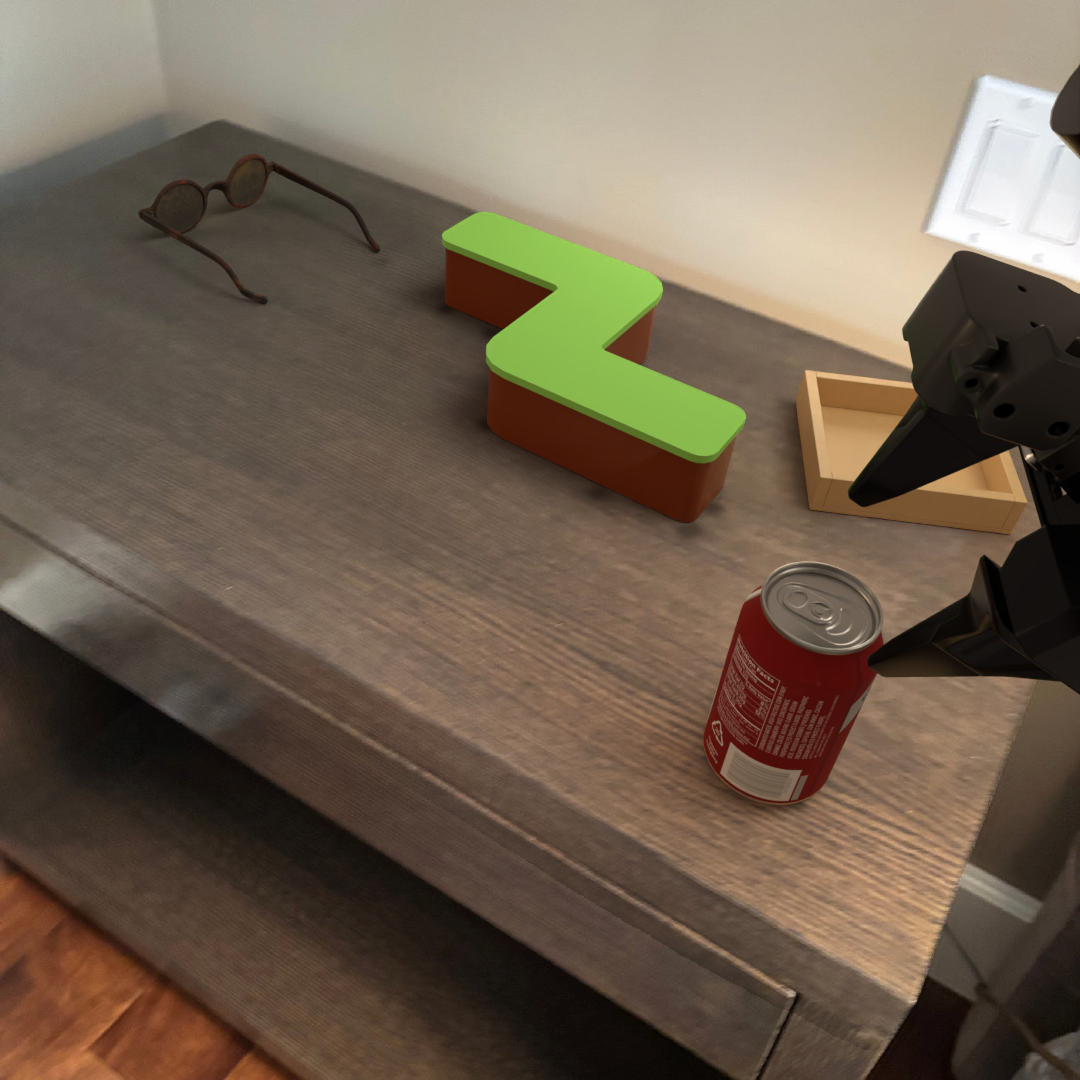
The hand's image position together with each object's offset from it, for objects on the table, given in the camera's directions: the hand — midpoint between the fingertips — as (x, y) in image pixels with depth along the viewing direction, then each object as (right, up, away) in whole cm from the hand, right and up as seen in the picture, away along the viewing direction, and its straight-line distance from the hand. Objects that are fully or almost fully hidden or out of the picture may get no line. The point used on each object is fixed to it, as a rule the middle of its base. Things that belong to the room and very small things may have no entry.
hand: (863, 578), depth 42 cm
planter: (-11, +13, +36) cm, 40 cm away
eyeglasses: (-37, +27, +47) cm, 66 cm away
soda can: (-2, -10, +12) cm, 16 cm away
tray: (+12, +7, +31) cm, 35 cm away
